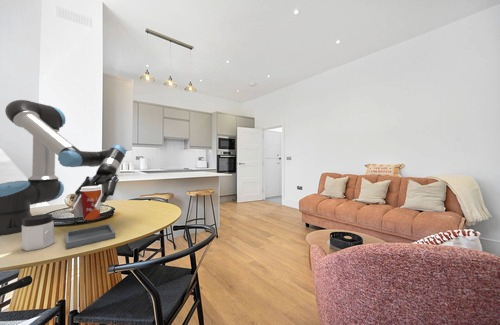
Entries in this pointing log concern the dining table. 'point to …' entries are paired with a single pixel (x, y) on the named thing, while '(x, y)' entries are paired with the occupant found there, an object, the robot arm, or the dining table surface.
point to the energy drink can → (80, 211)
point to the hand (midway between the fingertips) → (86, 208)
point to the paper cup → (90, 201)
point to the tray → (89, 236)
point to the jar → (37, 232)
